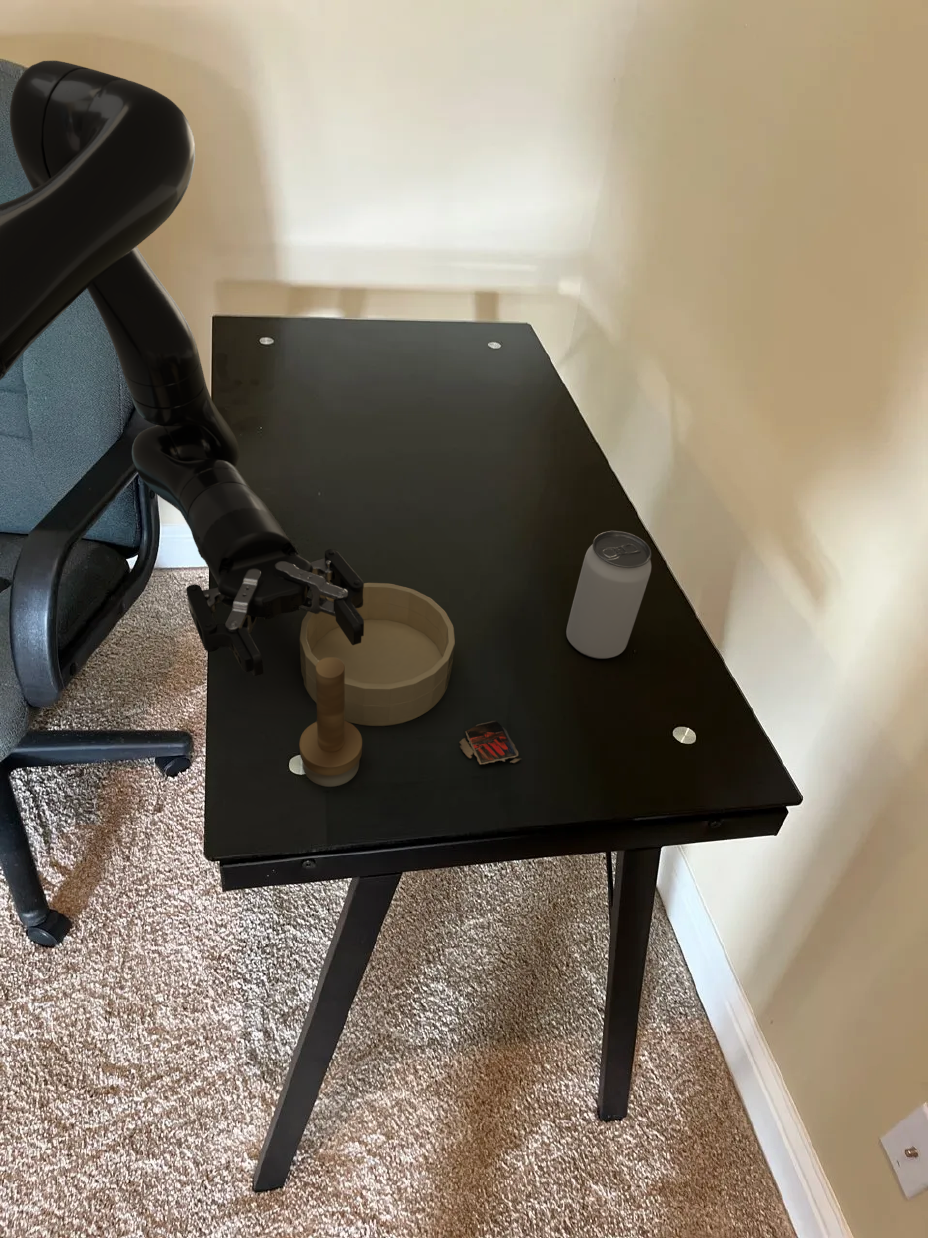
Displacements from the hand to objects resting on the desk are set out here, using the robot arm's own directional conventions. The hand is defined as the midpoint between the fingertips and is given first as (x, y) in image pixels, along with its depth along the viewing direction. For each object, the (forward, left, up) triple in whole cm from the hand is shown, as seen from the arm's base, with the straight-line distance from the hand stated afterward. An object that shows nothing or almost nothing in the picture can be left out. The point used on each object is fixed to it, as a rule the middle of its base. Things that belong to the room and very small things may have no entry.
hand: (310, 652), depth 67 cm
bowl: (+3, +9, -10) cm, 14 cm away
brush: (+3, -3, -10) cm, 11 cm away
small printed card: (+15, +3, -10) cm, 19 cm away
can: (+23, +21, -10) cm, 33 cm away
